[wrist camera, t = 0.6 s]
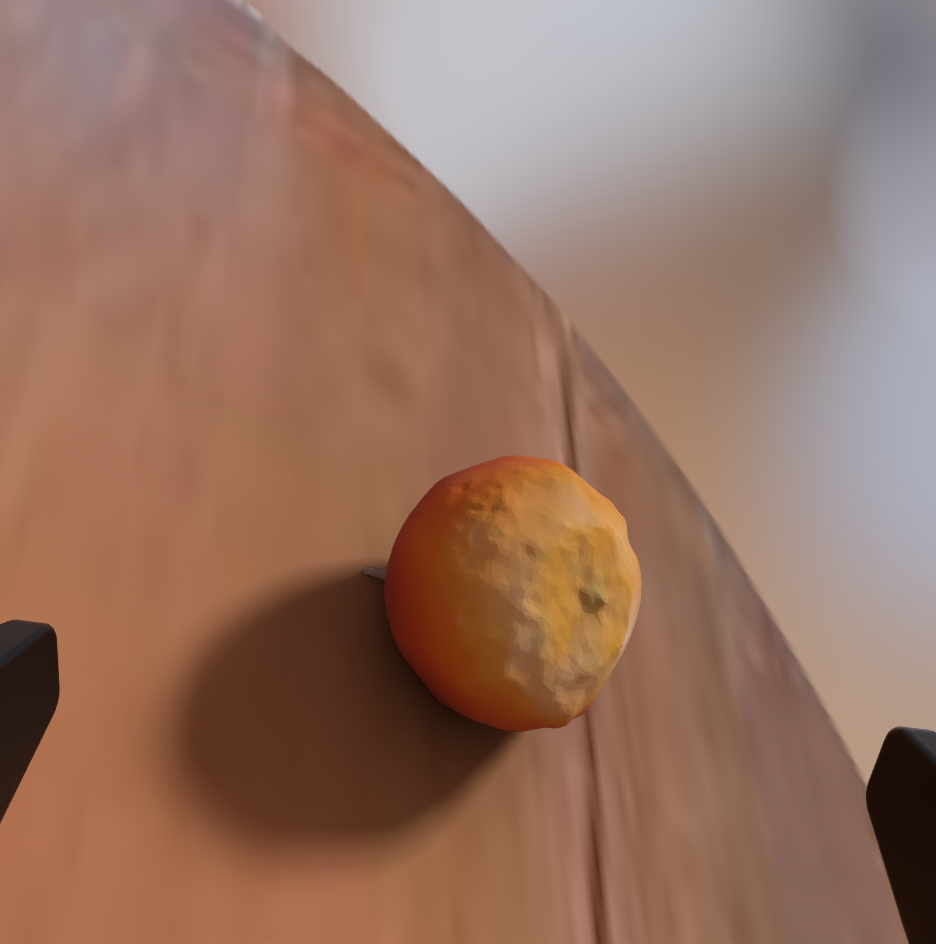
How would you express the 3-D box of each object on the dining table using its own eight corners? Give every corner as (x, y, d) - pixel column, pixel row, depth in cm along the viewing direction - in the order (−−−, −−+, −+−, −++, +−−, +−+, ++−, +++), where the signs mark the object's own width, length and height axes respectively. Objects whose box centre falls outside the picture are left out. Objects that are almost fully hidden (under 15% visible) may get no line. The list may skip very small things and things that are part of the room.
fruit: (471, 449, 31) (654, 423, 25) (516, 654, 32) (703, 675, 26) (285, 502, 26) (462, 486, 20) (344, 748, 27) (531, 801, 21)
